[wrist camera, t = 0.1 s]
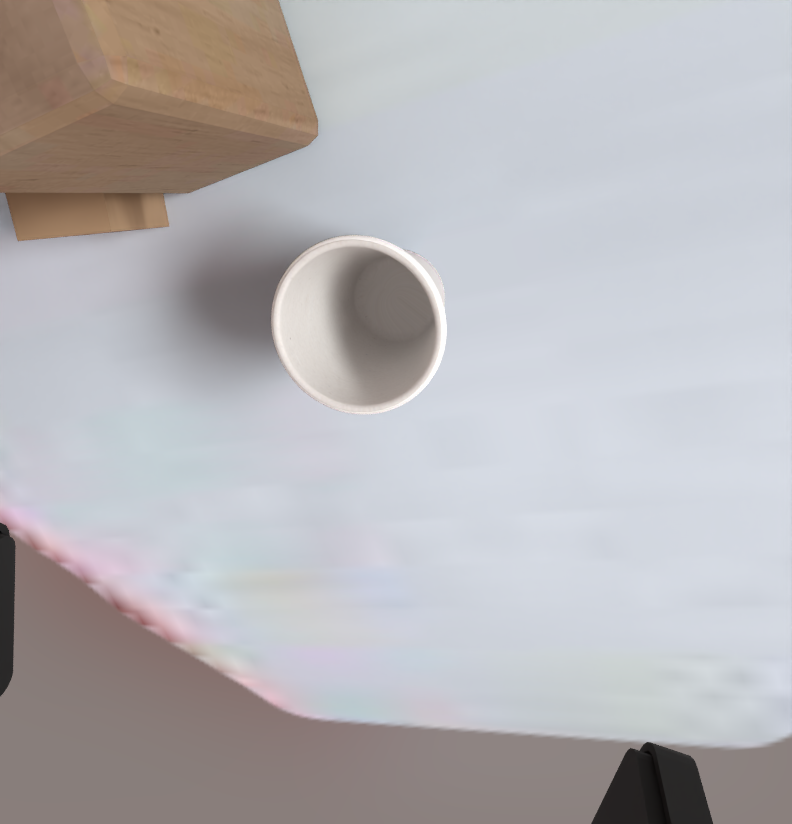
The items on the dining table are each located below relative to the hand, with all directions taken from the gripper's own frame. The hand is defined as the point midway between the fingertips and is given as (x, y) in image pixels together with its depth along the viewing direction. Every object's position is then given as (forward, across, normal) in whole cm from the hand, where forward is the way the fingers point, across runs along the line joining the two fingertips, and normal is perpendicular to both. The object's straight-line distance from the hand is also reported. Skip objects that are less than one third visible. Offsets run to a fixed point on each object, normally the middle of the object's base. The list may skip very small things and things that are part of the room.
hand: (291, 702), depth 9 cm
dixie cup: (+31, +5, 0) cm, 32 cm away
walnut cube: (+31, +24, -2) cm, 39 cm away
